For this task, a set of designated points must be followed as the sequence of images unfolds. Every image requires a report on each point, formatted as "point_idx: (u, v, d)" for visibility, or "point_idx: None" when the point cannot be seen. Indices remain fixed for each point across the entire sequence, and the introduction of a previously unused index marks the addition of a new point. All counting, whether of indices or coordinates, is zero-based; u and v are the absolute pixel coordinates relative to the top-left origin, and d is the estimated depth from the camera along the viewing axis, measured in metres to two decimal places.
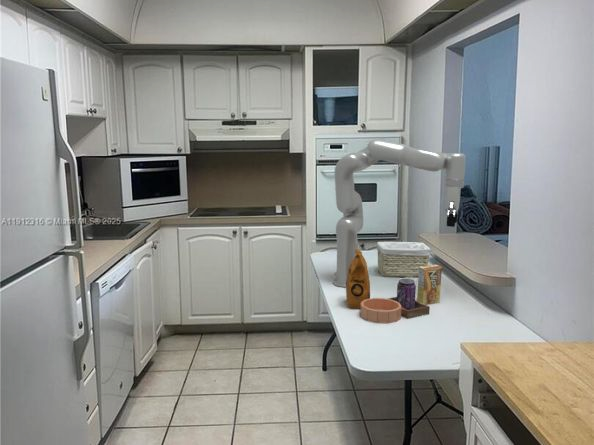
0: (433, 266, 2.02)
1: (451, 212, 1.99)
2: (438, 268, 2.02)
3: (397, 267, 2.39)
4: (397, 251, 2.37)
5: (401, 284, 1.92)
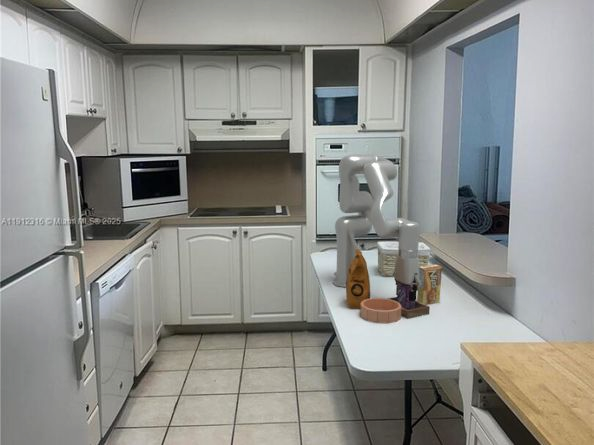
0: (433, 266, 2.02)
1: (418, 287, 1.88)
2: (438, 268, 2.02)
3: None
4: (397, 251, 2.37)
5: (401, 284, 1.92)
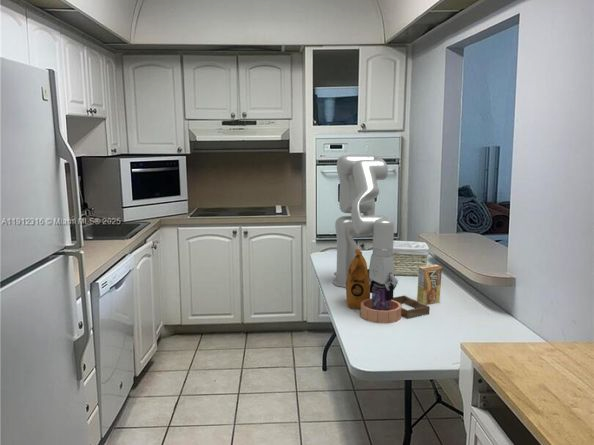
0: (433, 266, 2.02)
1: (395, 285, 1.80)
2: (438, 268, 2.02)
3: (395, 265, 2.42)
4: (395, 250, 2.40)
5: (376, 288, 1.85)
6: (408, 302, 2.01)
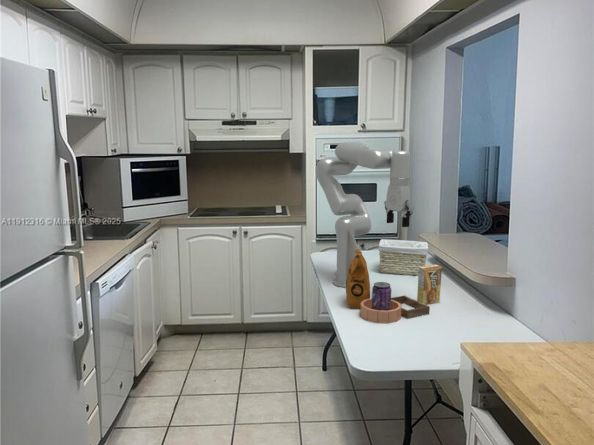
0: (433, 266, 2.02)
1: (411, 212, 1.92)
2: (438, 268, 2.02)
3: (394, 264, 2.44)
4: (393, 249, 2.42)
5: (376, 288, 1.85)
6: (408, 302, 2.01)
